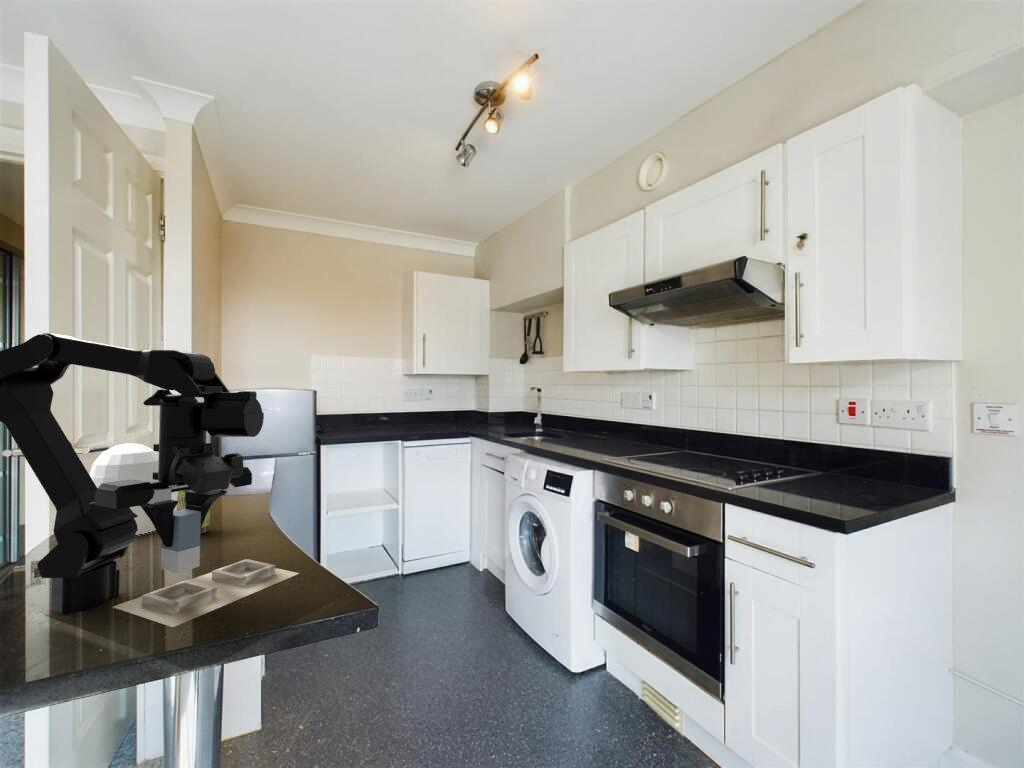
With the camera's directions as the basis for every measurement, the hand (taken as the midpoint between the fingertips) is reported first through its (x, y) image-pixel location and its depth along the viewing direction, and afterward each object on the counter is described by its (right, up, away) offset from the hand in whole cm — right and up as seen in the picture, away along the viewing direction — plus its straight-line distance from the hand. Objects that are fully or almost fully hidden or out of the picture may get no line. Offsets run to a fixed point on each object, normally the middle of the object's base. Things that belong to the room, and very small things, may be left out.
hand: (180, 543), depth 68 cm
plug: (0, -4, 0) cm, 4 cm away
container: (-40, -11, +38) cm, 56 cm away
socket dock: (+2, -10, +4) cm, 11 cm away
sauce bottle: (-23, -10, +36) cm, 44 cm away
